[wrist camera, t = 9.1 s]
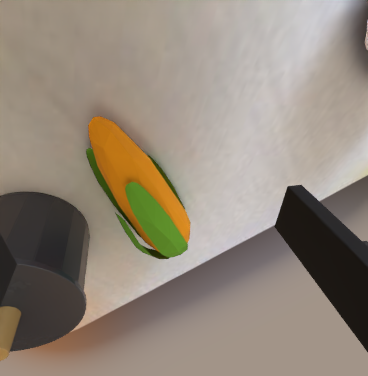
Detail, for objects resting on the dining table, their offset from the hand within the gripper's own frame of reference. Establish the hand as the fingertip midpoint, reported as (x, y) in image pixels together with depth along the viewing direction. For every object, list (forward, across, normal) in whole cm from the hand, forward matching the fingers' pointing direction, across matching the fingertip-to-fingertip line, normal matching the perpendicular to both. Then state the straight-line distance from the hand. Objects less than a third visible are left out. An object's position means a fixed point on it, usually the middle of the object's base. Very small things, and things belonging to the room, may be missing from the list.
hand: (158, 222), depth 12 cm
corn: (+18, 0, -9) cm, 20 cm away
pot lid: (+7, -14, -15) cm, 21 cm away
